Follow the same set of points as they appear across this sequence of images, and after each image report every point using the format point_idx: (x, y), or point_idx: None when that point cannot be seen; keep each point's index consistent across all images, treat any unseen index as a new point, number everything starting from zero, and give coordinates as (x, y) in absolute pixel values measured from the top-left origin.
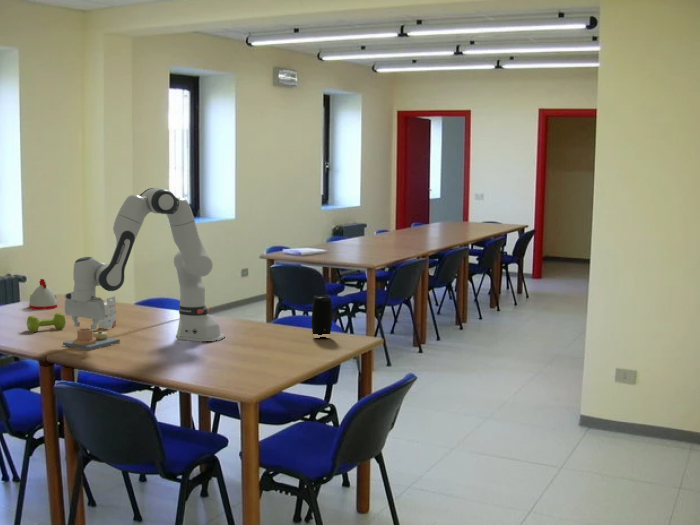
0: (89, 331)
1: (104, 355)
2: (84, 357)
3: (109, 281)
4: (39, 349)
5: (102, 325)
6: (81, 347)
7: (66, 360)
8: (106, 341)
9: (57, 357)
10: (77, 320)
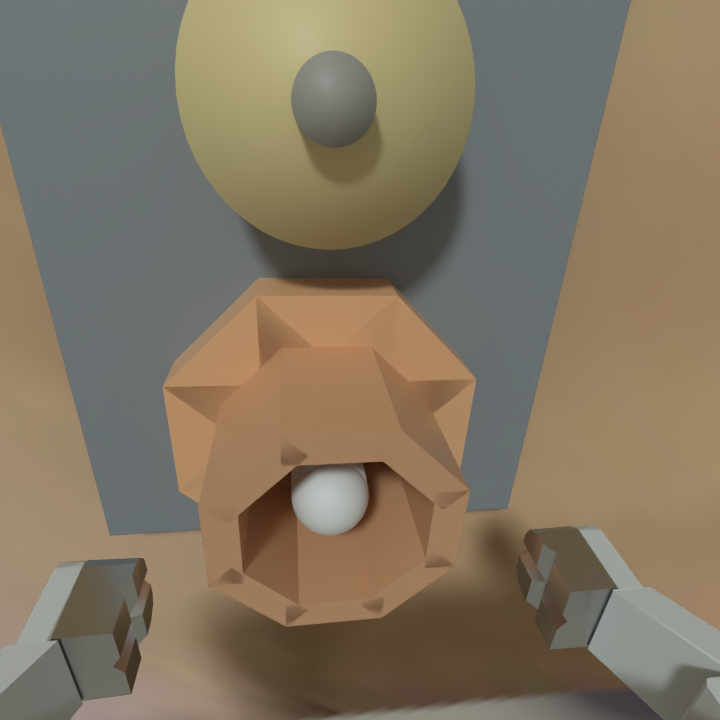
0: (455, 529)
1: (701, 513)
2: None
3: None
4: None
5: None
6: None
7: (526, 697)
8: (531, 212)
9: (424, 696)
10: (18, 692)
